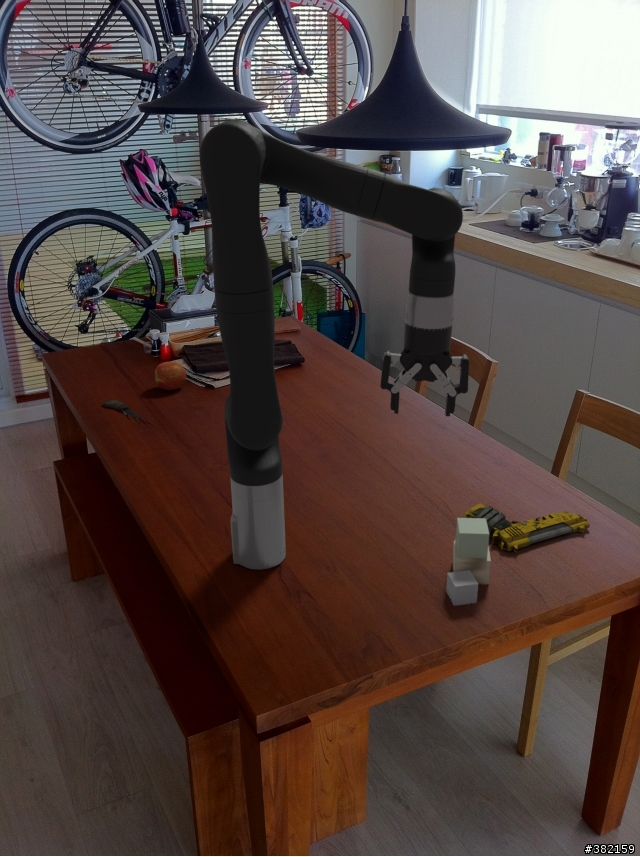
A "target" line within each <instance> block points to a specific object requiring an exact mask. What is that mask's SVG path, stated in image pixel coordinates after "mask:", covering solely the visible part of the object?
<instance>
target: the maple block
mask: <svg viewBox="0 0 640 857" xmlns="http://www.w3.org/2000/svg"><path fill="white" fill-rule="evenodd" d="M452 548H453V549H452V563H451V564H453V565H452V572H457V571H466V570H470V571H471V573H472V574H473V576H474V578H475V579H476V581H477V582H478V585H487V584H489V583H490V573H491V565H492V564H491V562H492V560H491V553H490V548H489V545H488V554H487V559H482V558H458V556H457V549H456V539H454V540H453V547H452Z"/></svg>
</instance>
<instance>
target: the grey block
mask: <svg viewBox="0 0 640 857" xmlns="http://www.w3.org/2000/svg"><path fill="white" fill-rule="evenodd" d="M445 588H446V589H445V591H446V594H447V596H448V597H449V600H450V599H451V600H450V602H451V603H452V605H453V606H454V607H457V606H463V605H471V603H472V604H478V593H479V592H478V591H479V584H478V582H477V581H476V579H475V578H474V576H473V574H472V573H471V571H470V570H466V571H457V572H453V571H451V572H450V571H449V572H447V573H446V587H445Z"/></svg>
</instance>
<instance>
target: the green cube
mask: <svg viewBox="0 0 640 857" xmlns="http://www.w3.org/2000/svg"><path fill="white" fill-rule="evenodd" d="M455 540H456V549H457V556H458V558H482V559H487V554H488V546H489V544H490V542H489V540H490V538H489V530H488V526H487V521H486V519H484V518H465V517H456V530H455Z"/></svg>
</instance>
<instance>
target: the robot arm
mask: <svg viewBox="0 0 640 857" xmlns="http://www.w3.org/2000/svg"><path fill="white" fill-rule="evenodd" d="M199 163H200V164H199V165H200V169H201V170H200V171H201V173H202V178H203V183H204V189H205V193H206V199H207V204H208V210H209V215H210V222H211V238H212V239H211V250H212V252H211V253H212V254H211V256H212V271H213V272H212V274H213V286H214V287H213V290H214V299H215V300H214V302H215V311H216V316H217V323H218V328H219V333H220V337H221V342H222V347H223V350H224V354H225V359H226V362H227V366H228V373H229V384H230V385H229V387H230V392H229V394H228V395H227V398H226V400H225V403H224V408H223V410H224V423H225V424H224V425H225V426H224V428H225V438H226V451H227V460H228V466H229V476H230V488H231V489H230V491H231V503H232V506H231V507H232V514H231V517H230V521H229V522H230V530H231V532H230V533H231V546H232V547H231V548H232V560H233V565H234V564H235V565H240V566H242V567H245V568H247V569H251V570H258V571H259V570H267V569H272V568H274V567H276V566H278V565H281V563H282V562H283V561H284V559H286V556H287V554H286V548H287V547H286V544H287V543H286V528H285V526H286V525H285V502H284V501H285V500H284V479H283V474H284V473H283V460H282V459H283V458H282V454H281V453H282V452H281V447H280V439H279V437H280V436H279V435H280V434H281V431H282V429H283V420H284V419H283V413H282V409H281V404H280V399H279V398H280V397H279V393H278V387H277V381H276V379H277V378H276V373H275V372H276V371H275V346H276V345H275V343H276V336H275V335H276V333H275V332H276V330H275V329H276V328H275V295H274V281H273V273H272V267H271V262H270V258H269V254H268V249H267V247H266V242H265V239H264V235H263V230H262V226H261V214H260V213H261V209H260V207H261V206H260V205H261V204H260V203H261V202H260V201H261V200H260V194H261V192H260V189H261V184H263V185H271V186H274V187H279V188H284V189H287V190H290V191H293V192H295V193H298V194H301V195H304V196H306V197H309V198H311V199H313V200H315V201H317V202H320V203H322V204H323V205H326V206H329V207H331V208H333V209H336V210H339V211H341V212H344V213H346V214H349V215H353V216H355V217H360V218H363V219H366V220H370V221H373V222H378V223H383V224H386V225H388V226H391V227H394V228H396V229H398V230H400V231H402V232H406V233H408V234H410V235H411V243H412V244H411V246H412V247H411V250H412V254H411V262H410V270H409V281H408V282H409V284H408V295H407V299H406V305H405V314H404V331H403V332H404V334H403V348H402V351H401V353H394V352H391V351H390V350H385V351H383V352H384V353H383V359H382V361H383V362H382V367H381V375H380V376H381V377H380V385H379V386H380V388H381V389H382V390H386V391H389V392H390V405H389V407H390V410H391V411H393V414H395V415H396V414H397V415H399V408H400V407H399V406H400V391H401V389H402V388H403V387H404V386H406V385H407V384H408V383H409V382H410V381H411V380H414V382H423V381H426V382H429V383H435V382H436V381H439V383H440V384H441V386H442V387H443V388H444V389H445V391H446V397H445V407H444V410H445V411H444V413H445V414H444V415H445V417H450V416H451V414H454V412H455V409H456V400H457V399H456V398H457V396H458V395H460V394H466V393H468V392H469V371H470V361H469V356H468V355H467V354H465V353H463V354H461V355H458V356H452V355H451V346H452V345H451V343H452V334H453V333H452V332H453V325H454V324H453V323H454V318H455V317H454V313H455V312H454V311H455V310H454V309H455V303H454V301H455V300H454V294H455V293H454V292H455V290H454V289H455V283H456V282H455V281H456V261H455V255H454V253H455V243H456V235H457V233H458V232H459V231H460V229H461V228H462V224H463V220H464V219H463V218H464V214H463V213H464V212H463V209H462V206H461V204H460V202H459V201H458V199H457V198H456V197H455V195H454V194H452V193H451V192H450V191H449V190H447V189H445V188H443V187H432V188H431V187H430V188H423V187H420V186H417V185H413V184H409V183H406V182H405V181H403V180H402V179H400V178H398V177H396V176H394V175H392V174H388V173H385V172H382V171H379V170H375V169H373V168H369V167H365V166H361V165H358V164H355V163H351V162H348V161H343V160H340V159H337V158H333V157H329V156H326V155H322V154H318V153H314V152H312V151H309V150H306V149H303V148H300V147H298V146H295V145H293V144H290V143H288V142H286V141H283V140H282V139H279V138H276V137H275V136H273V135H271V134H269V133H266V132H264V131H263V130H261V129H259V128H257V127H255V126H254V125H252V124H250V123H248V122H246V121H244V120H240V119H229V120H226V121H225V120H224V121H223V122H221V123H218V124H216V125H215V126H212V127H211V128H210V129H209V130H208V131H207V132H206V133H205V135H204V137H203V138H202V141H201V144H200V147H199ZM397 362H399V363H400V364H401V365H402V367H403V369H402V370H401V371H400V372H399V375H398V376H397V377H396V378H395V379H394V380H393V381H392V380H390V379H389V377H390V372H391V371H390V370H391V368H392V367H395V366H396V363H397ZM452 365H454V366H455V369H456V371H457V370H458V371H459V382H458V383H455V384H454V382H453V381H452V379H451V378H450V376H449V374H448V372H447V370H448V369H449V368H450V367H451V366H452Z"/></svg>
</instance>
